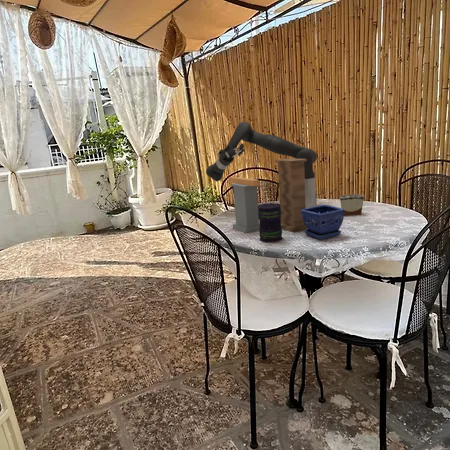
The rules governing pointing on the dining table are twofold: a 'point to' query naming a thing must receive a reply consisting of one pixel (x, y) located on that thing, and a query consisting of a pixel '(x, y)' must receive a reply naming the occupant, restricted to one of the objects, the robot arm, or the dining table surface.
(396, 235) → the dining table surface
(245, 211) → the grey tall block
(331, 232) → the flower pot
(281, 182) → the tall stand
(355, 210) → the food container
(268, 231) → the storage jar
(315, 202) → the robot arm
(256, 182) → the orange rectangular block
